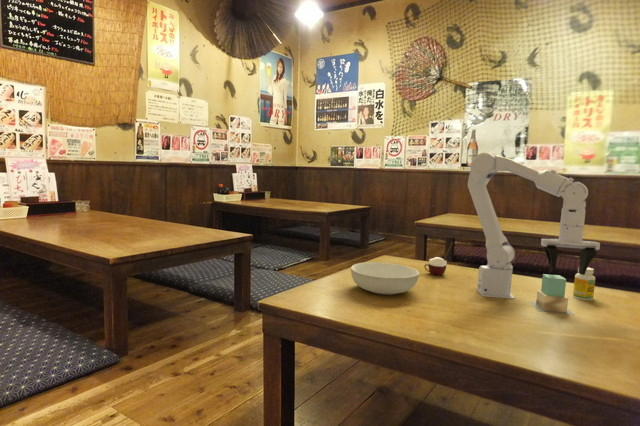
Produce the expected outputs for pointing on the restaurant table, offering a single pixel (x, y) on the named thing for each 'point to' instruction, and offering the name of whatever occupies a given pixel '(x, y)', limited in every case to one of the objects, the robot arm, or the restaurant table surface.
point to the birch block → (551, 302)
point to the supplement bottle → (584, 285)
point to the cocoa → (438, 264)
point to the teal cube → (553, 285)
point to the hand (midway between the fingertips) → (566, 272)
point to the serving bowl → (384, 277)
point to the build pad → (549, 311)
